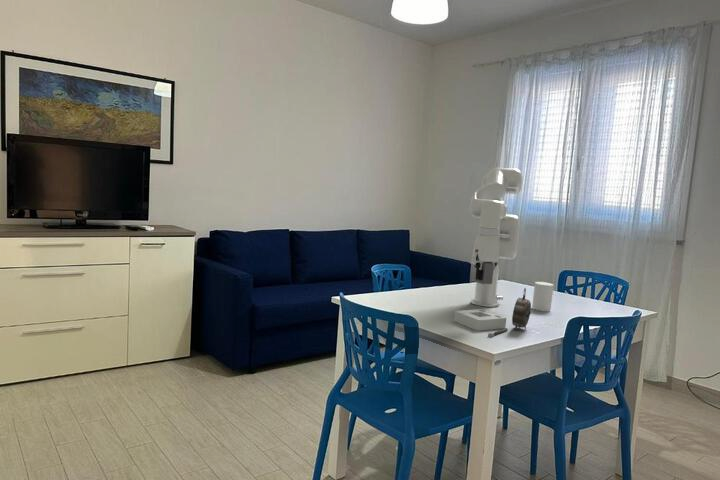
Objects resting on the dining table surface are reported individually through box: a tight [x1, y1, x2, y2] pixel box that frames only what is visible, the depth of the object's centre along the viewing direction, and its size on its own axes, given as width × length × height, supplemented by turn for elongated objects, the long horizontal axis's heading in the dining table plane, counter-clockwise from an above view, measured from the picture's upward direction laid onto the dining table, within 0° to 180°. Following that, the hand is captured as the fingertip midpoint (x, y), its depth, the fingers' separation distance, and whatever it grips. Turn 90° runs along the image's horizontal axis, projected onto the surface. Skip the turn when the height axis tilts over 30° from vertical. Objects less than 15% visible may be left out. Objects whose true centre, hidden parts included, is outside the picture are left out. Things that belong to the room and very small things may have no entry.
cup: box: [531, 281, 555, 312], centre depth 241 cm, size 8×8×12 cm
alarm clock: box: [511, 287, 532, 332], centre depth 201 cm, size 11×5×16 cm, turn 150°
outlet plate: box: [453, 308, 507, 331], centre depth 204 cm, size 14×14×4 cm
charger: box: [474, 262, 494, 284], centre depth 201 cm, size 4×4×8 cm
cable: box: [487, 327, 509, 338], centre depth 192 cm, size 14×1×1 cm, turn 140°
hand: (483, 279), depth 202 cm, fingers closed on charger, 4 cm apart
